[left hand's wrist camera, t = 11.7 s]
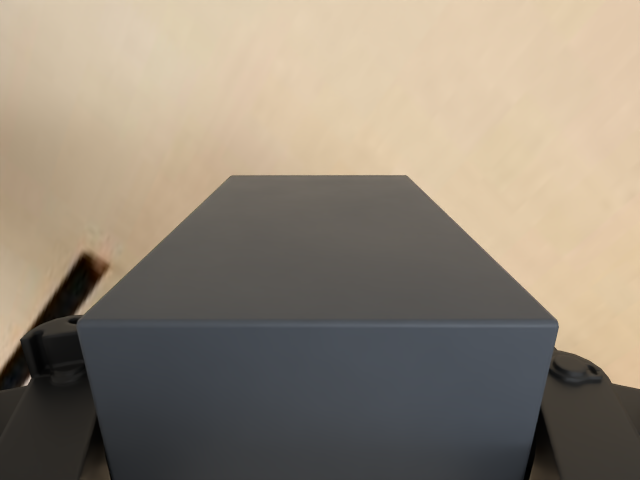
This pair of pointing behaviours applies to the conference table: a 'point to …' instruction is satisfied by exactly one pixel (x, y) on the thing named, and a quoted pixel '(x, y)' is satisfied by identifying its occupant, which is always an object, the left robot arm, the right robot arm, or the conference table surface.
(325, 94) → the conference table surface
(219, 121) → the conference table surface
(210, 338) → the bar
